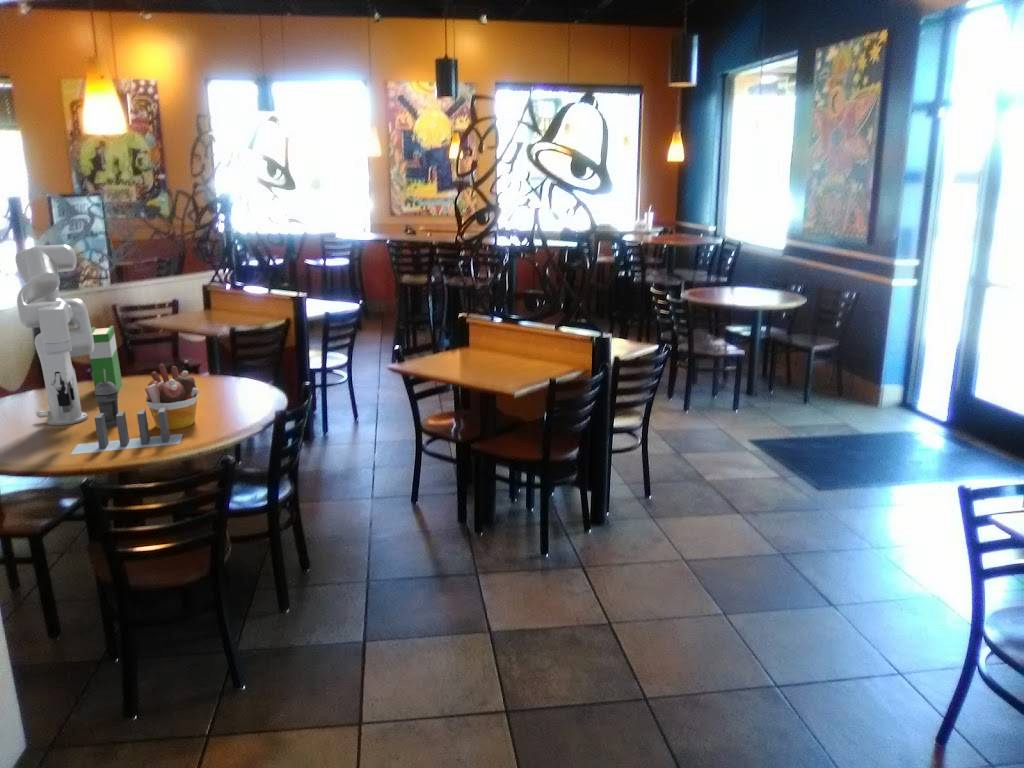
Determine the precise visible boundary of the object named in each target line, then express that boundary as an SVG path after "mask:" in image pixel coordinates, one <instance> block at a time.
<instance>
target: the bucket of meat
mask: <svg viewBox="0 0 1024 768" xmlns="http://www.w3.org/2000/svg"><path fill="white" fill-rule="evenodd" d="M158 368H159V372H160V375H161V377H162V380H161V377H160V376H159V374H158V372H156V371H152V372H151V373H150V376H151V378H152V380H151V381H149V383H148V384H147V386H145V388H144V390H145V393H146V400H145V401H146V405H147V407H148V409H149V411H150V414H151V416H152V419H153V420H154V424H155V426H156V428H157V429H160V424H159V417H158V411H159V409H160V408H165V407H166V411H167V418H168V426H169V431H170V430H171V431H175V430H179V429H185V428H187V427H190V426H192V425H193V424H194V423H195V420H196V414H197V413H196V411H197V403H198V395H199V393H200V392H201V390H200V389H199V388H197V386H196V381H195V378H194V377H189V376H188V375H189V371H188V370H183V371H182V372H181V373H180V375H181V376H179V370H178V367H177V366H175V365H173V366H171V368H170V370H171V377H172V378H170V377H169V374H168V371H167V369H166V366H165V364H163V363H160V364H159V365H158Z"/></svg>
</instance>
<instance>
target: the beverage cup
mask: <svg viewBox="0 0 1024 768" xmlns="http://www.w3.org/2000/svg"><path fill="white" fill-rule="evenodd" d="M103 370H104V380H105V381H102V382H100V383H99V384H98V385H97V386H96V388H95V387H94V397H95V400H96V402H97V403H96V404H97V407H98V409H99V413H104V416H105V422H106V429H110V428H111V429H112V428H116V427H117V420H116V415H117V414H118V412H119V405H118V404H119V403H118V399H119V398H118V397H119V393H118V390H117V387H116V386H115V385H114V384H113V383H112V382H110V381H106V374H105V369H103ZM117 428H118V427H117Z"/></svg>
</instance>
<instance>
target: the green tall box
mask: <svg viewBox="0 0 1024 768" xmlns="http://www.w3.org/2000/svg"><path fill="white" fill-rule="evenodd" d="M114 327H115V326H114V325H110V326H109V327H103V328H102V327H101V328H96V326H93V327H92V326H91V330H92V334H93V339H94V350H93V352H92V353H90V354H88V355H89V360H90V361H89V362H90V367H91V372H92V378H93V386H94V389H95V388H96V386H97V385H98V384H99V383H100V382H102V381H105V380H104V370H103V369H105V374H106V381H110V382H112V383H113V384H114V385H115V386H116V387H117V390H118V394H119V393H120V390H121V389H122V388H121V387H122V385H123V380H122V374H121V368H120V360H119V354H118V348H117V347H118V346H117V341H116V334H115V328H114Z"/></svg>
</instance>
